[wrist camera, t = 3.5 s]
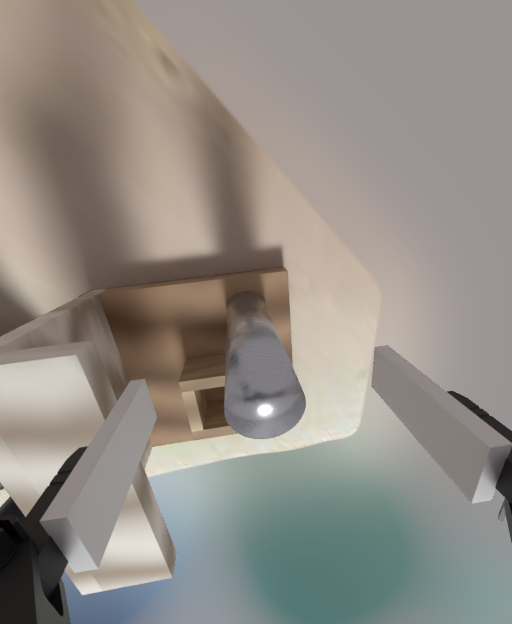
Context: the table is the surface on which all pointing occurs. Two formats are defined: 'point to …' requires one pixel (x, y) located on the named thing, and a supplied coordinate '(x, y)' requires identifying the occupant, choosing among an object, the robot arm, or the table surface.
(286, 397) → the peg
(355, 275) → the table surface
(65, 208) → the table surface
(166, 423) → the socket board
